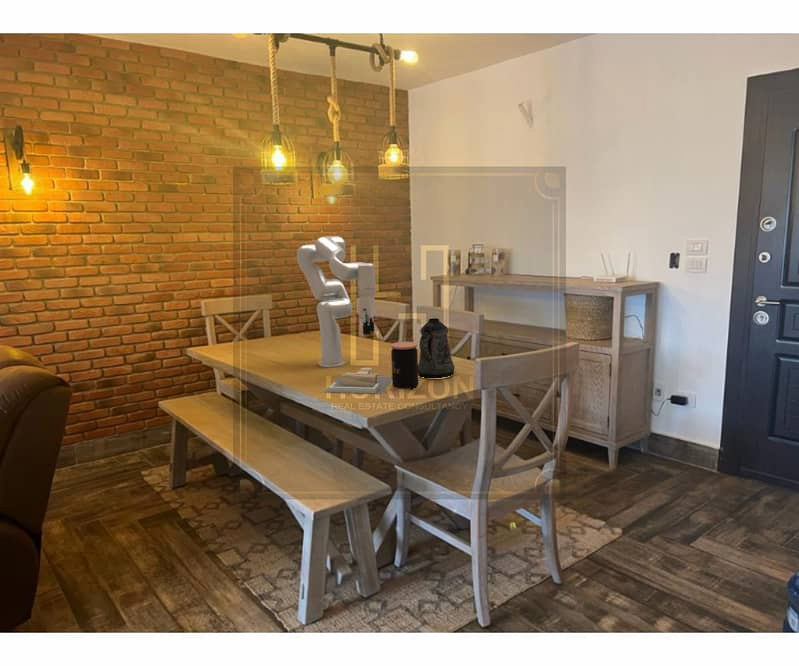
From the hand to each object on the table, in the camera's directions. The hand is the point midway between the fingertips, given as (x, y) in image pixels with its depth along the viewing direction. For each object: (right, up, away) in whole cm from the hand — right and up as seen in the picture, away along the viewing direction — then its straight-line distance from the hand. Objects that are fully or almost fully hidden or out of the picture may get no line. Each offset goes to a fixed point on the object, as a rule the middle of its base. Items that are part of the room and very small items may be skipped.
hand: (368, 332), depth 255 cm
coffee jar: (+16, -23, -16) cm, 32 cm away
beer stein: (+30, -19, 0) cm, 35 cm away
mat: (-3, -22, -13) cm, 26 cm away
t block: (-2, -21, -9) cm, 22 cm away
